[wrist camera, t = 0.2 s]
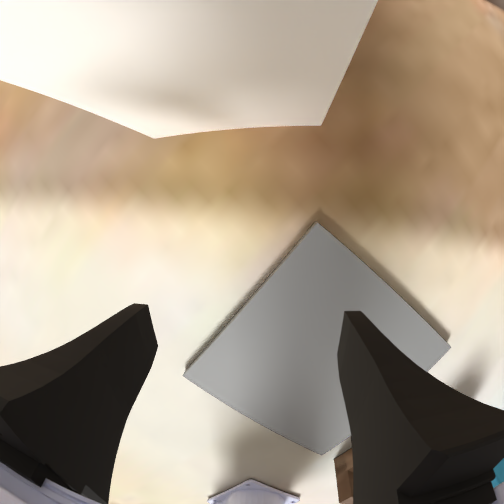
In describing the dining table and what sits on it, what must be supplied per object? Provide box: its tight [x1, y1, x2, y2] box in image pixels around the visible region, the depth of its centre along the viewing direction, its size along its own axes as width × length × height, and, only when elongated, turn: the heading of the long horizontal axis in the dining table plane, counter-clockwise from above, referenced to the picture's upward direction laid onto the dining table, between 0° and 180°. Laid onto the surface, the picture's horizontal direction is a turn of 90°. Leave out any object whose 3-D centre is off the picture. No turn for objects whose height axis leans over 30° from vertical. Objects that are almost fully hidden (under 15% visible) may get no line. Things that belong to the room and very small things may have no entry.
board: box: [183, 221, 451, 455], centre depth 22 cm, size 16×16×1 cm
